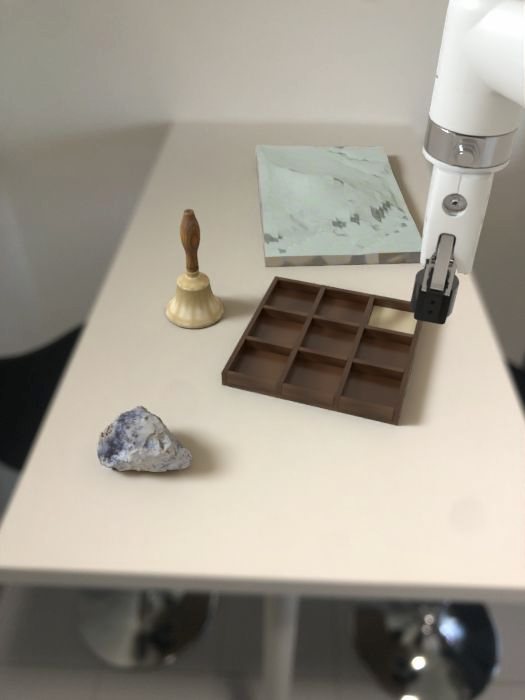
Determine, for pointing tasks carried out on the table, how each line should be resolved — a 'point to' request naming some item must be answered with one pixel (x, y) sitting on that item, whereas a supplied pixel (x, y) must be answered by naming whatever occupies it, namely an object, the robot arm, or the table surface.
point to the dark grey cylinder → (419, 281)
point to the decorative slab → (332, 207)
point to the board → (328, 349)
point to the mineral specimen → (141, 444)
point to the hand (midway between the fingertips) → (432, 304)
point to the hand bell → (193, 284)
